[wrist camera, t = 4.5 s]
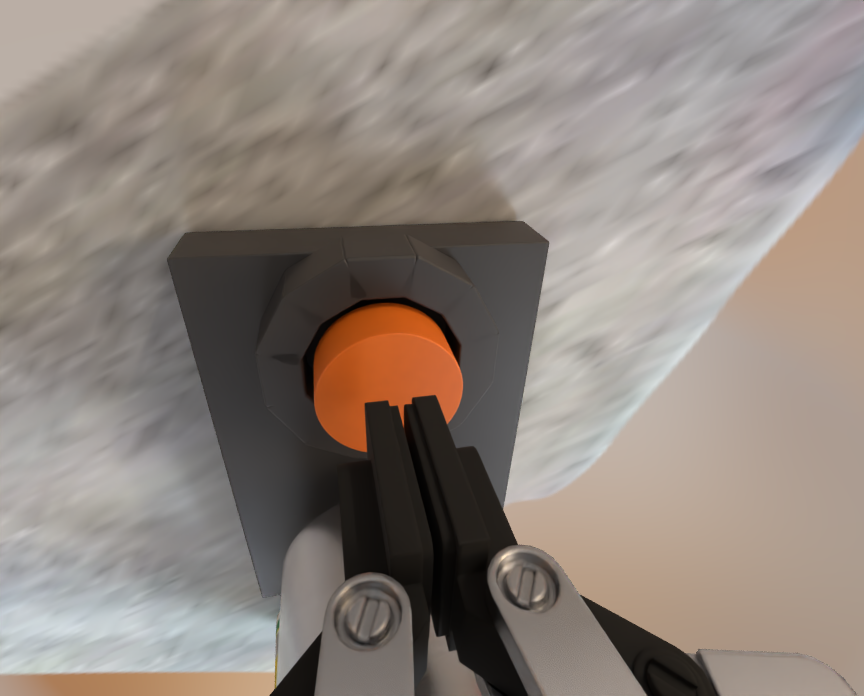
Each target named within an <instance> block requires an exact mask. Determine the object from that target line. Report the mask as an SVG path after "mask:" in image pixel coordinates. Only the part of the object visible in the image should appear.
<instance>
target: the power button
mask: <svg viewBox="0 0 864 696" xmlns="http://www.w3.org/2000/svg"><path fill="white" fill-rule="evenodd" d="M313 368H314V407H315V412H316V415H317V417H318V420H319V422H320V423H321V425H322V427H323V428H324V429H325V431H326V432H327V433H328V434H329V435H330V436H331V437H332V438H334V439H335V440H336V441H338V442H339V443H341V444H343V445H345V446H347V447H349V448H352V449H355V450H358V451H363V452H367V443H366V424H365V403H367V402H376V401H385V400H388V402H389V405H390V406H395V405H398V408H399V412H400V416H401V420H402V423H403V427H404V405H405V404H412V398H413V397H420V396H429V395H436V397H437V399H438V401H439V404H440V407H441V409H442V412H443V415H444V417H445V420H446V423H447V424H448V423H449V421H450V420H451V419H452V417H453V416H454V414H455V413H456V411H457V409H458V407H459V404H460V401H461V398H462V392H463V379H462V374H461V371H460V368H459V365H458V363H457V361H456V359H455V357H454V355H453V353H452V351H451V349H450V347H449V344H448V342H447V340H446V338H445V336H444V334H443V332H442V330H441V329H440V327H439V326H438V325H437V323H436V322H435V321H434V320H433V319H432V318H430V317H429V316H428V315H426V314H425V313H423V312H421V311H420V310H418V309H415V308H413V307H410V306H407V305H403V304H397V303H376V304H370V305H366V306H362V307H360V308H357V309H354V310H352V311H350V312H348V313H346V314H345V315H343V316H342V317H340V318H339V319H337V320H336V321H335V322H334V323H333V324H332V325H331V326H330V327H329V328H328V329H327V330H326V331H325V333H324V334H323V336H322V337H321V339H320V341H319V343H318V345H317V347H316V351H315V354H314V362H313Z"/></svg>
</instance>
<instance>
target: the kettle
mask: <svg viewBox="0 0 864 696" xmlns="http://www.w3.org/2000/svg"><path fill="white" fill-rule="evenodd" d="M343 582H345V576H344V561H343V547H342V532H341V518H340V504H338V505H336V506H334V507H332V508H330V509H328V510H327V511H325V512H324V513H322V514H320V515H319V516H317V517H316V518H315V519H314V520H312V521H311V522H310V523H308V524H307V525H306V526H305V527H304V528H303V529H302V530H301V531H300V532H299V533H298V535H297V536H296V537H295V539H294V540H293V541H292V543H291V544H290V546H289V548H288V550H287V552H286V555H285V558H284V561H283V568H282V584H281V604H280V623H279V642H278V662H277V681H276V687H277V686H278V685H279V683H280V682H281V681H282V680H283V678H284V677H285V676H286V675H287V673H288V672H289V671H290V670H291V669H292V667H293V666H294V665H295V664H296V662H297V661H298V660H299V659H300V657H301V656H302V655H303V654H304V653H305V651H306V650H307V649H308V648H309V646H310V645H311V644H312V643H313V641H314V640H315V639H316V638H317V636H318V635H319V634H320V633H321V632H322V629H323V621H324V614H325V611H326V607H327V603H328V601H329V599H330V598H331V596H332V594H333V593H334V591H335V590H336V589H337V588H338V587H339V586H340V585H341V584H342V583H343ZM414 694H415V696H482V695H481V692H480V690H479V688H478V685H477V683H476V679H475V675H474V672H473V671H472V670H470V669H469V668H467V667H466V666H464V665H463V664H461V663H460V662H459V659H458V655H457V651H456V650H455V651H451V652H449V650H448V646H447V642H446V638H445V636H441V637H436V634H435V631H434V627H433V622H432V618H431V615H430V633H429V640H428V658H427V670H426V672H425V674H424V675H423V677H422V679H421V681H420V682H419V684H418V686H417V687H416V689H415V691H414Z"/></svg>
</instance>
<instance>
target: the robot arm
mask: <svg viewBox="0 0 864 696" xmlns="http://www.w3.org/2000/svg"><path fill="white" fill-rule="evenodd" d="M365 424H366V443H367V460H365V461H358V462H351V463H344V464H337V475H338V489H339V504H340V518H341V532H342V547H343V561H344V576H345V582H343V583H342V584H341V585H340V586H339V587H338V588H337V589H336V590H335V591H334V593H333V594H332V596H331V598H330V599H329V601H328V603H327V607H326V611H325V614H324V621H323V629H322V632H321V633H320V634H319V635H318V636H317V638H316V639H315V640H314V641H313V643H312V644H311V645H310V646H309V648H308V649H307V650H306V651H305V653H304V654H303V655H302V656H301V657H300V659H299V660H298V661H297V662H296V664H295V665H294V666H293V667H292V669H291V670H290V671H289V672H288V673H287V675H286V676H285V677H284V678H283V680H282V681H281V682H280V683H279V685H278V686H277V687H276V688H275V689H274V691H273V692H272V693H271V694H270V696H415V694H414V691H415V689H416V687H417V686H418V684H419V682H420V681H421V679H422V677H423V675H424V674H425V672H426V670H427V658H428V640H429V633H430V615H431V618H432V622H433V627H434V631H435V634H436V637H441V636H445V638H446V642H447V646H448V650H449V652H451V651H455V650H456V651H457V655H458V659H459V662H460V663H461V664H463V665H464V666H466V667H467V668H469V669H470V670H472V671H473V672H474V675H475V679H476V683H477V685H478V688H479V690H480V692H481V695H482V696H857V694H856V693H855V691H854V690H853V689H852V688H851V687H850V685H849V684H848V683H847V682H846V680H845V679H844V678H843V677H842V676H841V675H839V674H838V673H837V672H836V671H835V670H833V669H832V668H831V667H830V666H828V665H827V664H825V663H823V662H821V661H819V660H817V659H816V658H814V657H812V656H808V655H803V654H799V653H783V652H782V653H781V652H758V651H733V650H710V649H708V650H707V649H698V651H697V652H696V654H686V653H684V652H682V651H681V650H680V649H678V648H677V647H675V646H673V645H672V644H670V643H668V642H666V641H664V640H662V639H660V638H659V637H657V636H655V635H653V634H651V633H650V632H648V631H646V630H644V629H642V628H640V627H638V626H637V625H635V624H633V623H631V622H629V621H628V620H626V619H624V618H622V617H620V616H618V615H617V614H615V613H613V612H611V611H609V610H607V609H606V608H603V607H602V606H600V605H598V604H596V603H595V602H593V601H591V600H589V599H587V598H585V597H584V596H582V595H580V594H579V593H578V591H577V590H576V588H575V587H574V585H573V584H572V582H571V581H570V579H569V578H568V576H567V575H566V573H565V572H564V570H563V569H562V568H561V566H560V565H559V564H558V563H557V562H556V561H555V559H554V558H553V557H551V556H550V555H548V554H547V553H546V552H544V551H542V550H540V549H538V548H535V547H532V546H527V545H518V544H517V541H516V539H515V537H514V534H513V532H512V530H511V527H510V525H509V523H508V520H507V518H506V516H505V513H504V511H503V509H502V506H501V504H500V502H499V499H498V497H497V495H496V492H495V490H494V488H493V485H492V483H491V481H490V478H489V476H488V474H487V471H486V469H485V467H484V464H483V462H482V460H481V457H480V455H479V453H478V451H477V449H476V448H475V447H474V446H468V447H461V448H456V446H455V444H454V441H453V438H452V436H451V433H450V430H449V428H448V425H447V423H446V420H445V417H444V415H443V412H442V409H441V407H440V404H439V401H438V399H437V397H436V395H429V396H420V397H413V398H412V404H405V405H404V427H403V423H402V420H401V416H400V412H399V408H398V405H395V406H390V405H389V402H388V400H385V401H376V402H367V403H365Z"/></svg>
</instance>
